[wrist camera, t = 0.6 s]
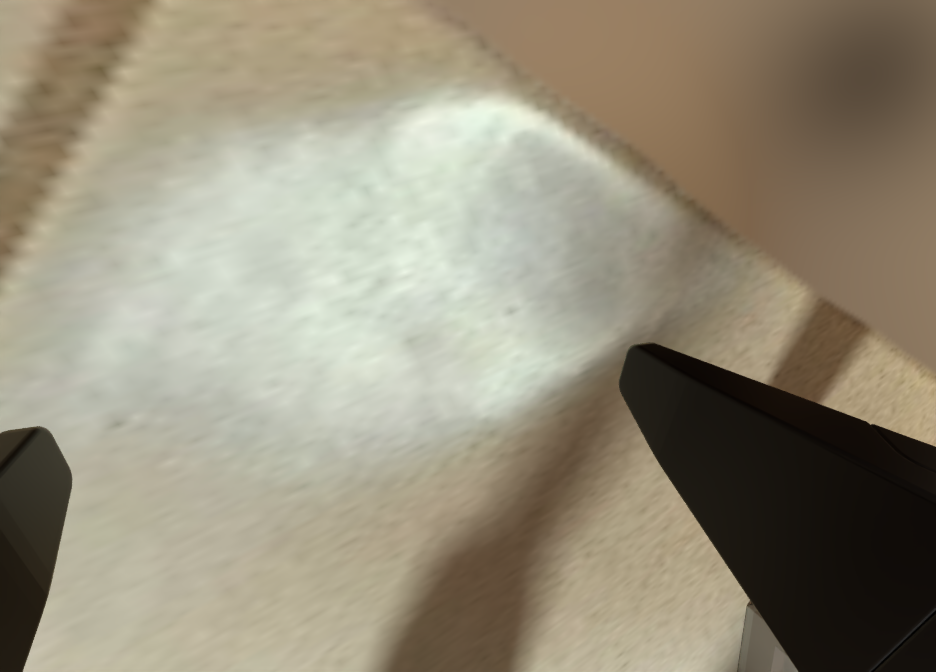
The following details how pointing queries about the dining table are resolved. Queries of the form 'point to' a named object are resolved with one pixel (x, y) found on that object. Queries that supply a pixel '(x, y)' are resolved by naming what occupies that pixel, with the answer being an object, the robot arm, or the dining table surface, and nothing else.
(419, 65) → the dining table surface
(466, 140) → the dining table surface
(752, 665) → the gray tray
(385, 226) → the dining table surface
